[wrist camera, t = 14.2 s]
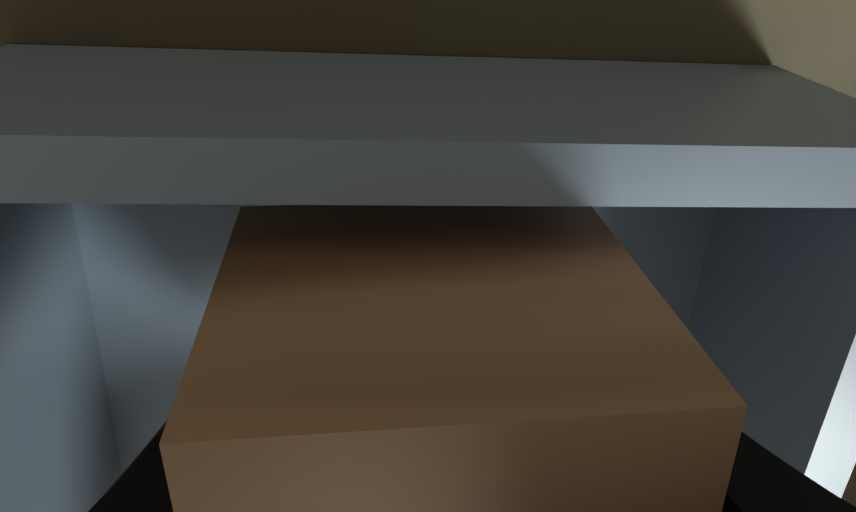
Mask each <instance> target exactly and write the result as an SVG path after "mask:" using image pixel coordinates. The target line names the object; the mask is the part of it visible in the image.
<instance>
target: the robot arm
mask: <svg viewBox="0 0 856 512" xmlns="http://www.w3.org/2000/svg"><path fill="white" fill-rule="evenodd" d="M166 422H167V420H166ZM166 422H165V423H164V424H163V425H162V427H161V428H160V429H159V430H158V432H157V433H156V434H155V435H154V437H153V438H152V439H151V440H150V441H149V443H148V444H147V445H146V446H145V448H144V449H143V450H142V451H141V452H140V453H139V455H138V456H137V457H136V458H135V459H134V460H133V462H132V463H131V464H130V465H129V466H128V467H127V468H126V470H125V471H124V472H123V473H122V474H121V475H120V477H119V478H118V479H117V480H116V481H115V482H114V484H113V485H112V486H111V487H110V488H109V489H108V490H107V491H106V493H105V494H104V495H103V496H102V497H101V498H100V499H99V500H98V501H97V502H96V503H95V505H94V506H93V507H92V508H91V509H90V510H89V511H88V512H173V507H172V503H171V498H170V493H169V489H168V484H167V479H166V475H165V470H164V465H163V461H162V456H161V451H160V446H159V443H160V440H161V437H162V434H163V431H164V428H165V425H166ZM722 512H856V507H854V506H853V505H851V504H849V503H848V502H846V501H844V500H843V499H841V498H840V497H838V496H836V495H835V494H833V493H832V492H830V491H828V490H827V489H825V488H824V487H822V486H821V485H819V484H818V483H816V482H815V481H813V480H812V479H810V478H809V477H807V476H806V475H804V474H803V473H801V472H799V471H798V470H796V469H795V468H793V467H792V466H790V465H789V464H787V463H786V462H784V461H783V460H781V459H780V458H779V457H777V456H776V455H774V454H773V453H771V452H770V451H768V450H767V449H766V448H764V447H763V446H761V445H760V444H759V443H757V442H756V441H754V440H753V439H751V438H750V437H749V436H747V435H746V434H745V433H743V432H741V436H740V440H739V444H738V448H737V452H736V456H735V460H734V464H733V468H732V472H731V476H730V480H729V484H728V488H727V492H726V496H725V500H724V504H723V508H722Z"/></svg>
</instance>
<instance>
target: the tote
mask: <svg viewBox="0 0 856 512" xmlns="http://www.w3.org/2000/svg"><path fill="white" fill-rule="evenodd" d="M276 205H407V206H590V207H592V208H593V209H594V210H595V211H596V213H597V214H598V215H599V216H600V218H601V219H602V220H603V222H604V223H605V224H606V225H607V227H608V228H609V229H610V231H611V232H612V233H613V234H614V236H615V237H616V238H617V240H618V241H619V242H620V243H621V245H622V246H623V247H624V248H625V250H626V251H627V252H628V254H629V255H630V256H631V257H632V259H633V260H634V261H635V263H636V264H637V265H638V266H639V268H640V269H641V270H642V271H643V273H644V274H645V275H646V277H647V278H648V279H649V280H650V282H651V283H652V284H653V286H654V287H655V288H656V289H657V291H658V292H659V293H660V294H661V296H662V297H663V298H664V300H665V301H666V302H667V303H668V305H669V306H670V307H671V309H672V310H673V311H674V312H675V314H676V315H677V316H678V318H679V319H680V320H681V321H682V323H683V324H684V325H685V326H686V328H687V329H688V330H689V332H690V333H691V334H692V335H693V337H694V338H695V339H696V341H697V342H698V343H699V344H700V346H701V347H702V348H703V349H704V351H705V352H706V353H707V355H708V356H709V357H710V358H711V360H712V361H713V362H714V364H715V365H716V366H717V367H718V369H719V370H720V371H721V372H722V374H723V375H724V376H725V378H726V379H727V380H728V381H729V383H730V384H731V385H732V387H733V388H734V389H735V390H736V392H737V393H738V394H739V396H740V397H741V398H742V399H743V401H744V402H745V403H746V404H747V406H748V408H747V412H746V416H745V420H744V424H743V428H742V432H743V433H745V434H746V435H747V436H749V437H750V438H751V439H753V440H754V441H756V442H757V443H759V444H760V445H761V446H763V447H764V448H766V449H767V450H768V451H770V452H771V453H773V454H774V455H776V456H777V457H779V458H780V459H781V460H783V461H784V462H786V463H787V464H789V465H790V466H792V467H793V468H795V469H796V470H798V471H799V472H801V473H803V474H804V475H806V476H807V477H809V478H810V479H812V480H813V481H815V482H816V483H818V484H819V485H821V486H822V487H824V488H825V489H827V490H828V491H830V492H832V493H833V494H835V495H836V496H838V497H840V498H842V495H843V493H844V490H845V488H846V485H847V483H848V480H849V478H850V475H851V473H852V471H853V468H854V466H855V463H856V98H853V97H851V96H848V95H846V94H843V93H841V92H839V91H836V90H834V89H831V88H829V87H826V86H824V85H821V84H819V83H816V82H814V81H811V80H809V79H806V78H804V77H801V76H799V75H797V74H794V73H792V72H789V71H787V70H784V69H782V68H779V67H777V66H774V65H743V64H707V63H671V62H635V61H599V60H563V59H528V58H492V57H456V56H420V55H384V54H348V53H312V52H277V51H241V50H205V49H169V48H133V47H97V46H61V45H26V44H6V45H4V46H1V47H0V512H88V511H89V510H90V509H91V508H92V507H93V506H94V505H95V503H96V502H97V501H98V500H99V499H100V498H101V497H102V496H103V495H104V494H105V493H106V491H107V490H108V489H109V488H110V487H111V486H112V485H113V484H114V482H115V481H116V480H117V479H118V478H119V477H120V475H121V474H122V473H123V472H124V471H125V470H126V468H127V467H128V466H129V465H130V464H131V463H132V462H133V460H134V459H135V458H136V457H137V456H138V455H139V453H140V452H141V451H142V450H143V449H144V448H145V446H146V445H147V444H148V443H149V441H150V440H151V439H152V438H153V437H154V435H155V434H156V433H157V432H158V430H159V429H160V428H161V427H162V425H163V424H164V423H165V422H166V420H167V419H168V416H169V414H170V411H171V408H172V405H173V402H174V399H175V396H176V393H177V390H178V387H179V385H180V382H181V379H182V376H183V373H184V370H185V367H186V364H187V361H188V358H189V355H190V353H191V350H192V347H193V344H194V341H195V338H196V335H197V332H198V329H199V326H200V324H201V321H202V318H203V315H204V312H205V309H206V306H207V303H208V300H209V297H210V294H211V292H212V289H213V286H214V283H215V280H216V277H217V274H218V271H219V268H220V265H221V262H222V260H223V257H224V254H225V251H226V248H227V245H228V242H229V239H230V236H231V233H232V231H233V228H234V225H235V222H236V219H237V216H238V213H239V210H240V207H249V206H276Z"/></svg>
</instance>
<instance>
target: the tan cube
mask: <svg viewBox="0 0 856 512" xmlns="http://www.w3.org/2000/svg"><path fill="white" fill-rule="evenodd" d="M747 408H748V406H747V404H746V403H745V402H744V401H743V399H742V398H741V397H740V396H739V394H738V393H737V392H736V390H735V389H734V388H733V387H732V385H731V384H730V383H729V381H728V380H727V379H726V378H725V376H724V375H723V374H722V372H721V371H720V370H719V369H718V367H717V366H716V365H715V364H714V362H713V361H712V360H711V358H710V357H709V356H708V355H707V353H706V352H705V351H704V349H703V348H702V347H701V346H700V344H699V343H698V342H697V341H696V339H695V338H694V337H693V335H692V334H691V333H690V332H689V330H688V329H687V328H686V326H685V325H684V324H683V323H682V321H681V320H680V319H679V318H678V316H677V315H676V314H675V312H674V311H673V310H672V309H671V307H670V306H669V305H668V303H667V302H666V301H665V300H664V298H663V297H662V296H661V294H660V293H659V292H658V291H657V289H656V288H655V287H654V286H653V284H652V283H651V282H650V280H649V279H648V278H647V277H646V275H645V274H644V273H643V271H642V270H641V269H640V268H639V266H638V265H637V264H636V263H635V261H634V260H633V259H632V257H631V256H630V255H629V254H628V252H627V251H626V250H625V248H624V247H623V246H622V245H621V243H620V242H619V241H618V240H617V238H616V237H615V236H614V234H613V233H612V232H611V231H610V229H609V228H608V227H607V225H606V224H605V223H604V222H603V220H602V219H601V218H600V216H599V215H598V214H597V213H596V211H595V210H594V209H593V208H592V207H590V206H407V205H276V206H249V207H240V210H239V213H238V216H237V219H236V222H235V225H234V228H233V231H232V233H231V236H230V239H229V242H228V245H227V248H226V251H225V254H224V257H223V260H222V262H221V265H220V268H219V271H218V274H217V277H216V280H215V283H214V286H213V289H212V292H211V294H210V297H209V300H208V303H207V306H206V309H205V312H204V315H203V318H202V321H201V324H200V326H199V329H198V332H197V335H196V338H195V341H194V344H193V347H192V350H191V353H190V355H189V358H188V361H187V364H186V367H185V370H184V373H183V376H182V379H181V382H180V385H179V387H178V390H177V393H176V396H175V399H174V402H173V405H172V408H171V411H170V414H169V416H168V419H167V422H166V425H165V428H164V431H163V434H162V437H161V440H160V443H159V446H160V451H161V456H162V461H163V465H164V470H165V475H166V479H167V484H168V489H169V493H170V498H171V503H172V507H173V512H722V508H723V504H724V500H725V496H726V492H727V488H728V484H729V480H730V476H731V472H732V468H733V464H734V460H735V456H736V452H737V448H738V444H739V440H740V436H741V432H742V428H743V424H744V420H745V416H746V412H747Z"/></svg>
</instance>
